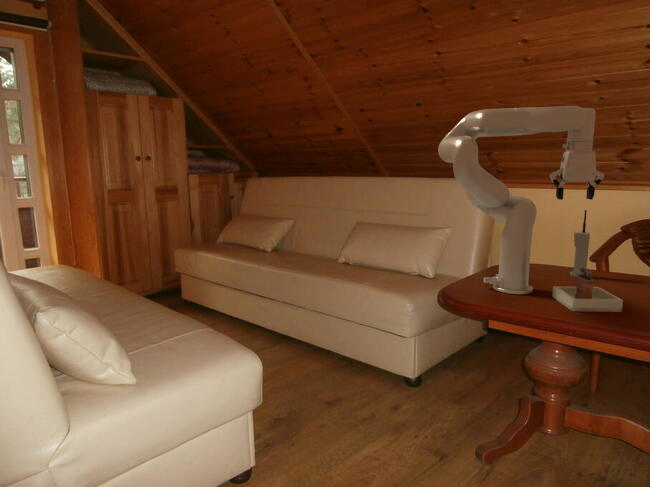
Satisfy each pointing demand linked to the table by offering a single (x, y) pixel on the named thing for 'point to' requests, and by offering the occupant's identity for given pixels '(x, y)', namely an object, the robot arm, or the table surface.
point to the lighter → (584, 284)
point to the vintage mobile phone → (580, 249)
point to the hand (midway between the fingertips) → (574, 199)
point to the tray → (588, 300)
